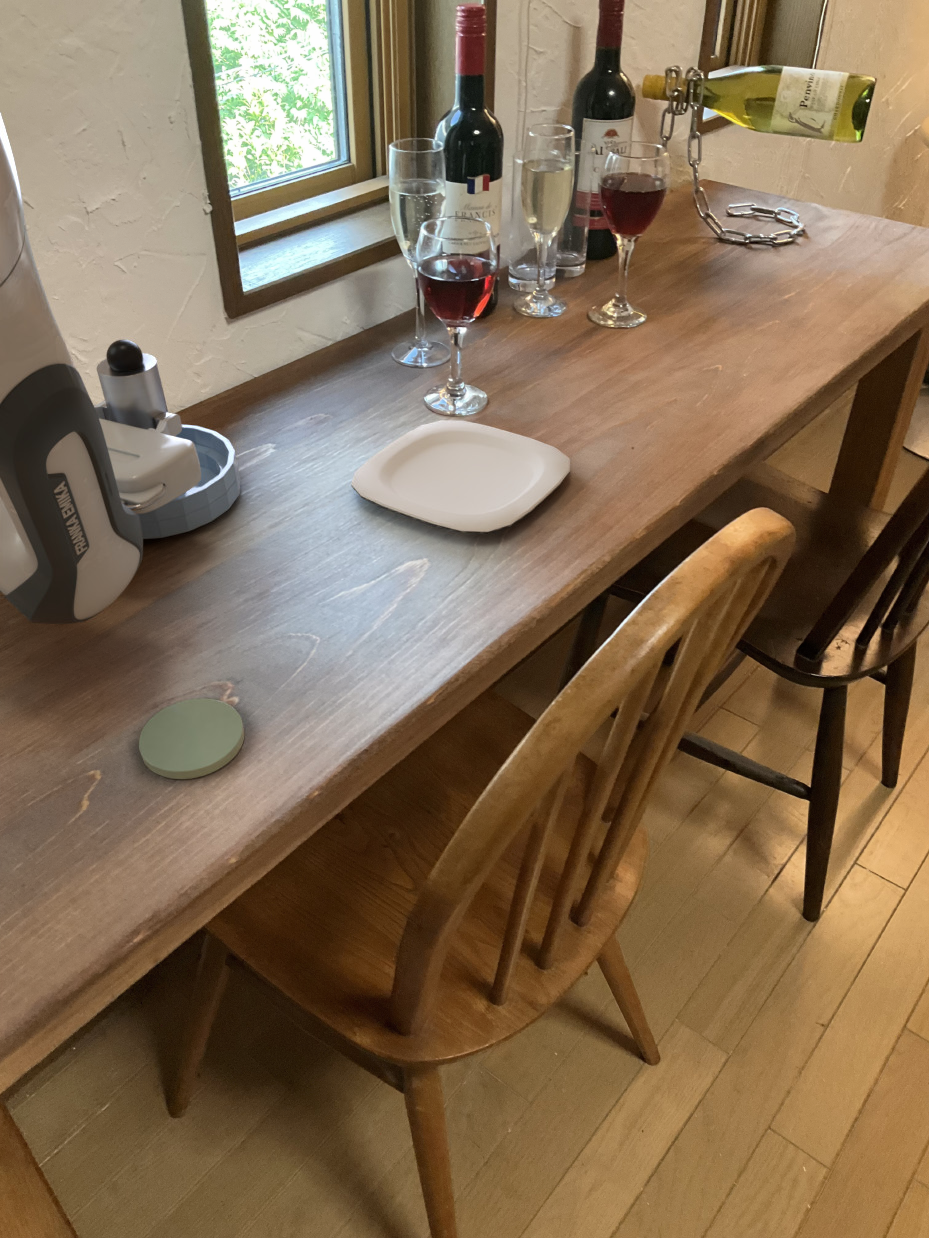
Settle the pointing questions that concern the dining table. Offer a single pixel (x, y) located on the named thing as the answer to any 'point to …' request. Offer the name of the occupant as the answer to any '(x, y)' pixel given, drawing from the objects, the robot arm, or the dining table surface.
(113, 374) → the pepper mill
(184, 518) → the bowl
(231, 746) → the coaster
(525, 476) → the plate
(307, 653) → the dining table surface
